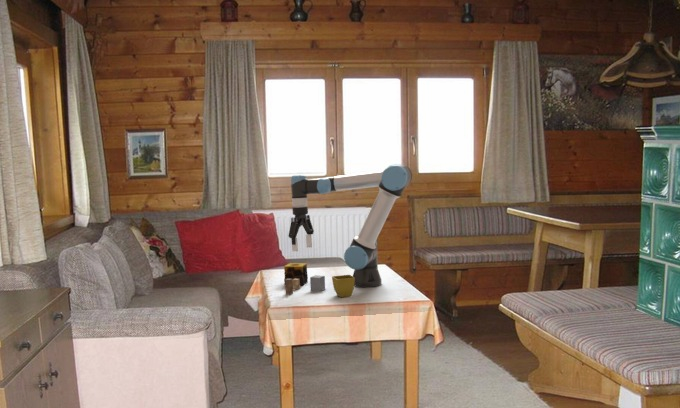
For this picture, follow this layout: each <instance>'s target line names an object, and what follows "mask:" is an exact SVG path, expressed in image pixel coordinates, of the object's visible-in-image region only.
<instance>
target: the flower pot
mask: <svg viewBox="0 0 680 408" xmlns="http://www.w3.org/2000/svg"><path fill="white" fill-rule="evenodd" d="M331 279H332V287H333V290H334V292H335V293H336V296H338V297H340V298H344V297H345V298H347V297H351V296H352V294H353V292H354V290H355V286H354V283H355V278H354V277H353V275H351V274H344V275H343V274H342V275H331Z"/></svg>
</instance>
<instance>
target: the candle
mask: <svg viewBox="0 0 680 408" xmlns="http://www.w3.org/2000/svg"><path fill="white" fill-rule="evenodd" d="M283 269H284V273H283V274H284V279H283V281H284V283H283V284H284V286H285V279H300V287H301V286H305V285H306V284H307V283H308V280H309V279H308V278H309V276H308V263H307V262H305V263H304V262H303V263H302V262H300V263H299V262H295V263H294V262H291V263H287V264H286V265H284V266H283Z"/></svg>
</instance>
